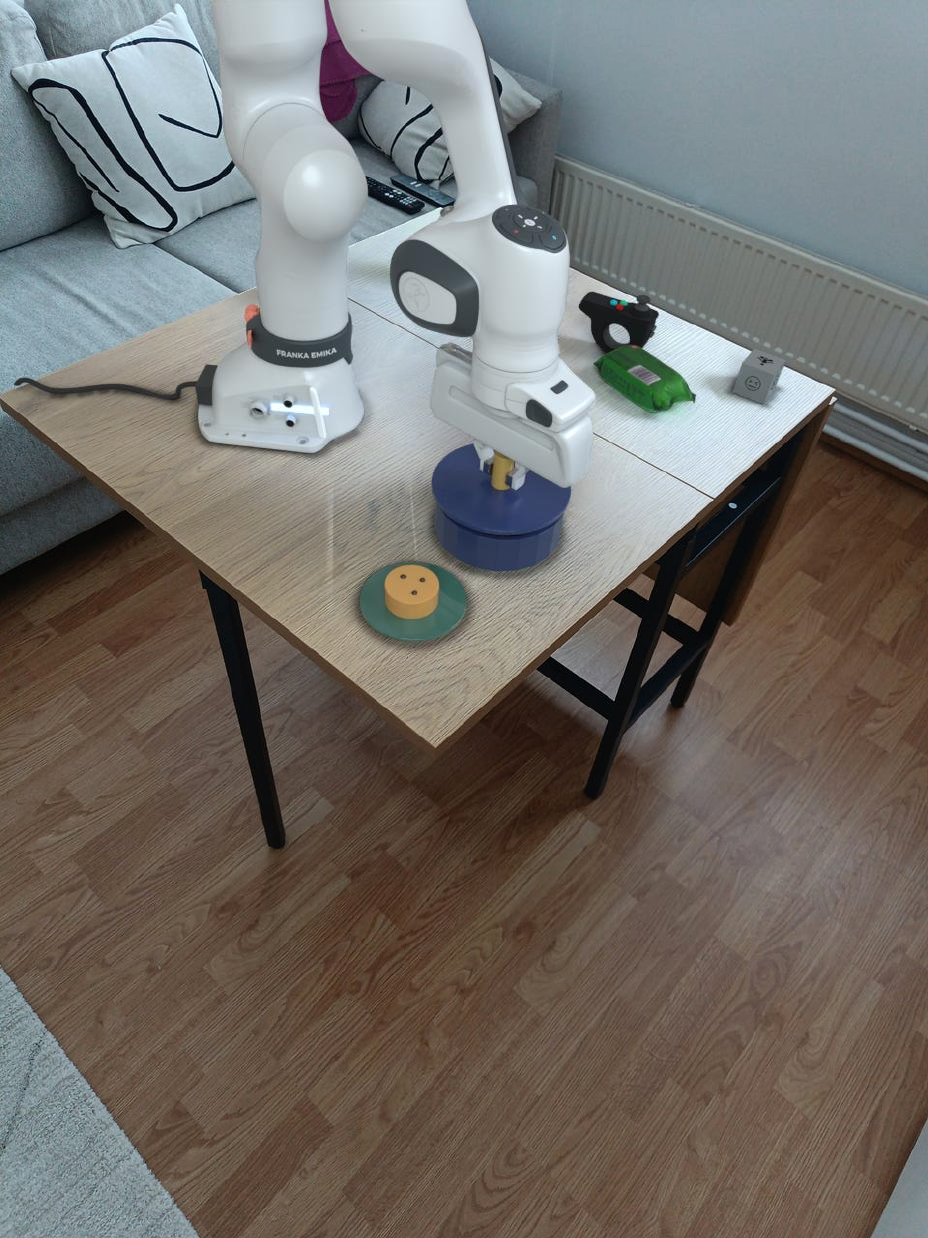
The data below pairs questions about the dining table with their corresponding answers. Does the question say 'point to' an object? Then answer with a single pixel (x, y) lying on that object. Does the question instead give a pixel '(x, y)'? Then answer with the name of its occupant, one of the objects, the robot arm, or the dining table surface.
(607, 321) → the controller
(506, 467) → the tin lid
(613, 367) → the snack package
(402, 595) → the cookie
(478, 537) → the cookie tin
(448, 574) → the plate
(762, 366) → the dice cube
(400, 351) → the dining table surface
